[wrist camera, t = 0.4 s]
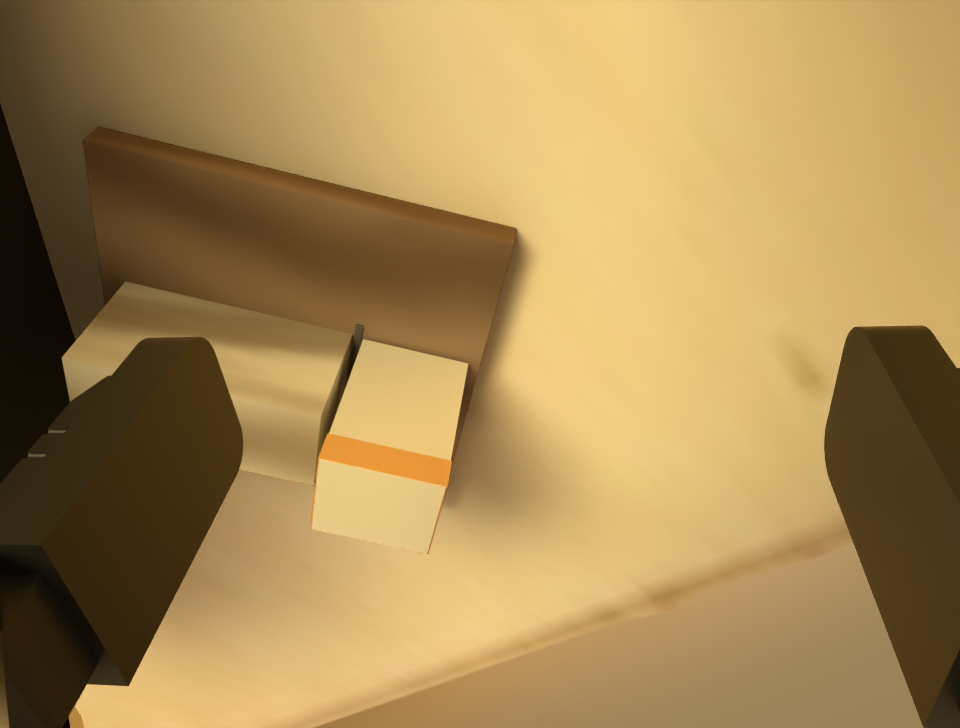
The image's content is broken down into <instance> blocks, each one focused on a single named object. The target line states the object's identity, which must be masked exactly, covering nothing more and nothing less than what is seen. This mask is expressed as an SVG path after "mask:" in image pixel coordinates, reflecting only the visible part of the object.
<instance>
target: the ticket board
mask: <svg viewBox="0 0 960 728" xmlns="http://www.w3.org/2000/svg"><path fill="white" fill-rule="evenodd" d="M83 144H84V152H85V159H86V167H87V174H88V182H89V189H90V197H91V204H92V212H93V219H94V227H95V234H96V242H97V249H98V257H99V264H100V272H101V279H102V287H103V294H104V302H105V306H104V308H103V309H102V310H101V311H100V312H99V314H98V315H97V316H96V317H95V318H94V320H93V321H92V322H91V323H90V324H89V326H88V327H87V328H86V329H85V330H84V332H83V333H82V334H81V335H80V336H79V338H78V339H77V340H76V341H75V342H74V344H73V345H72V346H71V347H70V348H69V349H68V351H67V352H66V353H65V354H64V355H63V357H62V362H63V367H64V373H65V378H66V383H67V389H68V394H69V399H70V402H71V401H72V400H73V399H74V398H76V397H77V396H79V395H80V394H82V393H83V392H85V391H86V390H87V389H89V388H90V387H92V386H93V385H95V384H96V383H98V382H99V381H100V380H102V379H103V378H105V377H106V376H111V375H112V374H113V373H114V372H115V370H116V369H117V368H118V367H119V366H120V364H121V363H122V362H123V361H124V360H125V358H126V357H127V356H128V355H129V354H130V352H131V351H132V350H133V349H134V347H135V346H136V345H137V344H138V343H139V342H140V341H141V340H143V339H145V338H165V337H203V338H205V339H206V340H208V341H209V342H210V344H211V345H212V347H213V349H214V351H215V353H216V356H217V359H218V362H219V365H220V368H221V370H222V373H223V376H224V379H225V382H226V385H227V388H228V390H229V393H230V396H231V399H232V402H233V405H234V408H235V410H236V413H237V416H238V419H239V422H240V425H241V428H242V434H243V455H242V461H241V465H240V468H239V469H240V470H244V471H249V472H253V473H258V474H263V475H267V476H272V477H276V478H281V479H285V480H290V481H294V482H299V483H303V484H308V485H312V486H313V485H314V483H316V476H317V467H318V458H319V455H320V452H321V449H322V447H323V444H324V441H325V438H326V436H327V433H329V432H330V429H331V427H332V424H333V421H334V418H335V416H336V413H337V410H338V407H339V405H340V402H341V399H342V396H343V394H344V391H345V388H346V385H347V382H348V380H349V377H350V374H351V371H352V369H353V366H354V363H355V360H356V358H357V355H358V352H359V349H360V347H361V344H362V341H363V339H365V340H369V341H374V342H378V343H382V344H387V345H391V346H395V347H400V348H404V349H408V350H412V351H417V352H421V353H425V354H430V355H434V356H438V357H443V358H447V359H451V360H456V361H460V362H464V363H468V368H467V374H466V379H465V385H464V390H463V396H462V401H461V407H460V412H459V418H458V423H457V429H456V434H455V440H454V445H453V451H452V456H451V461H452V463H453V459H454V456H455V452H456V449H457V445H458V441H459V438H460V434H461V431H462V427H463V424H464V420H465V417H466V413H467V410H468V406H469V402H470V399H471V395H472V392H473V388H474V385H475V381H476V378H477V374H478V370H479V367H480V363H481V360H482V356H483V353H484V349H485V346H486V342H487V338H488V335H489V331H490V328H491V324H492V321H493V317H494V314H495V310H496V306H497V303H498V299H499V296H500V292H501V289H502V285H503V282H504V278H505V274H506V271H507V267H508V264H509V260H510V257H511V253H512V250H513V246H514V241H515V233H516V228H513V227H509V226H505V225H501V224H497V223H492V222H488V221H484V220H480V219H476V218H472V217H468V216H464V215H459V214H455V213H451V212H447V211H443V210H439V209H435V208H431V207H427V206H422V205H418V204H414V203H410V202H406V201H402V200H398V199H394V198H389V197H385V196H381V195H377V194H373V193H369V192H365V191H361V190H357V189H352V188H348V187H344V186H340V185H336V184H332V183H328V182H324V181H319V180H315V179H311V178H307V177H303V176H299V175H295V174H291V173H287V172H282V171H278V170H274V169H270V168H266V167H262V166H258V165H254V164H249V163H245V162H241V161H237V160H233V159H229V158H225V157H221V156H217V155H212V154H208V153H204V152H200V151H196V150H192V149H188V148H184V147H179V146H175V145H171V144H167V143H163V142H159V141H155V140H151V139H147V138H142V137H138V136H134V135H130V134H126V133H122V132H118V131H114V130H109V129H105V128H101V127H98V128H97V129H96V130H95V131H94V132H92V133H91V134H90V135H89V136H87V137H86V138H85V139H84V140H83ZM451 466H452V464H451Z"/></svg>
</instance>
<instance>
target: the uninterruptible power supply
mask: <svg viewBox="0 0 960 728" xmlns="http://www.w3.org/2000/svg"><path fill="white" fill-rule="evenodd" d="M74 342H75V338H74V335H73V332H72V329H71V326H70V323H69V319H68V316H67V313H66V310H65V307H64V304H63V300H62V297H61V294H60V291H59V288H58V285H57V281H56V278H55V275H54V272H53V269H52V266H51V263H50V259H49V256H48V253H47V250H46V247H45V244H44V240H43V237H42V234H41V231H40V228H39V225H38V221H37V218H36V215H35V212H34V209H33V206H32V203H31V199H30V196H29V193H28V190H27V187H26V184H25V180H24V177H23V174H22V171H21V168H20V165H19V162H18V158H17V155H16V152H15V149H14V146H13V143H12V139H11V136H10V133H9V130H8V127H7V124H6V120H5V117H4V114H3V111H2V108H1V105H0V484H1V482H2V481H3V480H4V479H5V478H6V477H7V475H8V474H9V473H10V472H11V471H12V470H13V468H14V467H15V466H16V465H17V464H18V463H19V461H20V460H21V459H22V458H27V457H28V451H29V450H30V449H31V447H32V446H33V445H34V444H35V443H36V442H37V440H38V439H39V438H40V437H41V436H42V435H43V434H48V428H49V426H50V425H51V424H52V423H53V422H54V421H55V419H56V418H57V417H58V416H59V415H60V414H61V412H62V411H63V410H64V409H65V408H66V407H67V405H68V404H69V403H70V399H69V394H68V389H67V383H66V378H65V373H64V367H63V362H62V357H63V355H64V354H65V353H66V352H67V351H68V349H69V348H70V347H71V346H72V345H73V344H74Z"/></svg>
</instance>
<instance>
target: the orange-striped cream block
mask: <svg viewBox="0 0 960 728" xmlns="http://www.w3.org/2000/svg"><path fill="white" fill-rule="evenodd" d="M467 368H468V363H464V362H460V361H456V360H451V359H447V358H443V357H438V356H434V355H430V354H425V353H421V352H417V351H412V350H408V349H404V348H400V347H395V346H391V345H387V344H382V343H378V342H374V341H369V340H365V339H363V341H362V344H361V347H360V349H359V352H358V355H357V358H356V360H355V363H354V366H353V369H352V371H351V374H350V377H349V380H348V382H347V385H346V388H345V391H344V394H343V396H342V399H341V402H340V405H339V407H338V410H337V413H336V416H335V418H334V421H333V424H332V427H331V429H330V432H329V433H327V436H326V438H325V441H324V444H323V447H322V449H321V452H320V455H319V458H318V467H317V476H316V485H315V494H314V503H313V512H312V521H311V529H313V530H318V531H322V532H327V533H332V534H336V535H341V536H345V537H350V538H355V539H359V540H364V541H368V542H373V543H378V544H382V545H387V546H391V547H396V548H401V549H405V550H410V551H414V552H419V553H424V554H429V550H430V546H431V543H432V539H433V536H434V532H435V529H436V525H437V522H438V518H439V515H440V511H441V508H442V504H443V501H444V497H445V494H446V490H447V487H448V481H449V476H450V470H451V464H452V461H451V456H452V451H453V445H454V440H455V434H456V429H457V423H458V418H459V412H460V407H461V401H462V396H463V390H464V385H465V379H466V374H467Z"/></svg>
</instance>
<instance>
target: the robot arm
mask: <svg viewBox="0 0 960 728" xmlns="http://www.w3.org/2000/svg"><path fill="white" fill-rule="evenodd" d="M824 451H825V462H826V468H827V472H828V476H829V479H830V482H831V485H832V487H833V490H834V493H835V495H836V498H837V501H838V503H839V506H840V508H841V511H842V514H843V516H844V519H845V522H846V524H847V527H848V530H849V532H850V535H851V537H852V540H853V543H854V545H855V548H856V551H857V553H858V556H859V558H860V561H861V564H862V567H863V569H864V572H865V574H866V577H867V580H868V582H869V585H870V588H871V590H872V593H873V596H874V598H875V601H876V603H877V606H878V609H879V611H880V614H881V617H882V619H883V622H884V624H885V627H886V630H887V632H888V635H889V638H890V640H891V643H892V646H893V648H894V651H895V653H896V656H897V659H898V661H899V664H900V667H901V669H902V672H903V674H904V677H905V680H906V683H907V685H908V688H909V690H910V693H911V696H912V698H913V701H914V704H915V706H916V709H917V711H918V714H919V717H920V719H921V722H922V725H923V727H924V728H960V368H956V367H955V365H954V364H953V362H952V361H951V359H950V358H949V356H948V355H947V353H946V352H945V350H944V349H943V348H942V346H941V345H940V343H939V342H938V340H937V339H936V337H935V336H934V334H933V333H932V332H931V331H930V329H928V328H927V327H925V326H878V327H854V328H853V329H852V330H851V331H850V332H849V334H848V336H847V338H846V341H845V345H844V349H843V353H842V358H841V362H840V366H839V371H838V375H837V380H836V384H835V389H834V393H833V397H832V402H831V406H830V411H829V415H828V419H827V424H826V429H825V440H824ZM242 455H243V434H242V428H241V425H240V422H239V419H238V416H237V413H236V410H235V408H234V405H233V402H232V399H231V396H230V393H229V390H228V388H227V385H226V382H225V379H224V376H223V373H222V370H221V368H220V365H219V362H218V359H217V356H216V353H215V351H214V349H213V347H212V345H211V344H210V342H209V341H208V340H206V339H205V338H203V337H165V338H145V339H143V340H141V341H140V342H139V343H138V344H137V345H136V346H135V347H134V349H133V350H132V351H131V352H130V354H129V355H128V356H127V357H126V358H125V360H124V361H123V362H122V363H121V364H120V366H119V367H118V368H117V369H116V370H115V372H114V373H113V374H112V375H111V376H106V377H105V378H103V379H102V380H100V381H99V382H98V383H96V384H95V385H93V386H92V387H90V388H89V389H87V390H86V391H85V392H83V393H82V394H80V395H79V396H77V397H76V398H74V399H73V400H72V401H71V402H70V403H69V404H68V405H67V407H66V408H65V409H64V410H63V411H62V412H61V414H60V415H59V416H58V417H57V418H56V419H55V421H54V422H53V423H52V424H51V425H50V426H49V428H48V434H43V435H42V436H41V437H40V438H39V439H38V440H37V442H36V443H35V444H34V445H33V446H32V447H31V449H30V450H29V451H28V457H27V458H22V459H21V460H20V461H19V463H18V464H17V465H16V466H15V467H14V468H13V470H12V471H11V472H10V473H9V474H8V475H7V477H6V478H5V479H4V480H3V481H2V482H1V484H0V728H84V725H83V721H82V718H81V715H80V714H79V712H78V711H77V709H76V708H75V704H76V702H77V701H78V699H79V697H80V695H81V694H82V692H83V690H84V688H85V686H86V685H87V684H97V685H118V686H129V684H130V682H131V680H132V678H133V676H134V674H135V672H136V670H137V668H138V667H139V665H140V663H141V661H142V659H143V657H144V655H145V653H146V651H147V649H148V647H149V645H150V643H151V641H152V639H153V637H154V635H155V633H156V631H157V629H158V627H159V626H160V624H161V622H162V620H163V618H164V616H165V614H166V612H167V610H168V608H169V606H170V604H171V602H172V600H173V598H174V596H175V594H176V592H177V590H178V588H179V587H180V585H181V583H182V581H183V579H184V577H185V575H186V573H187V571H188V569H189V567H190V565H191V563H192V561H193V559H194V557H195V555H196V553H197V551H198V549H199V547H200V546H201V544H202V542H203V540H204V538H205V536H206V534H207V532H208V530H209V528H210V526H211V524H212V522H213V520H214V518H215V516H216V514H217V512H218V510H219V508H220V506H221V505H222V503H223V501H224V499H225V497H226V495H227V493H228V491H229V489H230V487H231V485H232V483H233V481H234V479H235V477H236V475H237V473H238V471H239V468H240V465H241V461H242Z"/></svg>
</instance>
